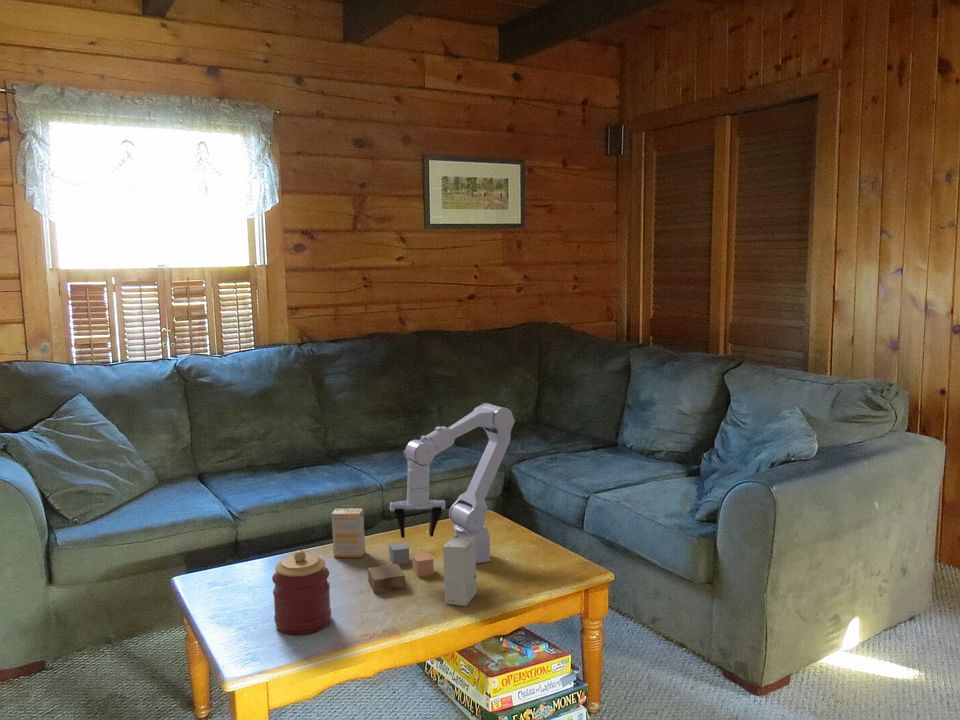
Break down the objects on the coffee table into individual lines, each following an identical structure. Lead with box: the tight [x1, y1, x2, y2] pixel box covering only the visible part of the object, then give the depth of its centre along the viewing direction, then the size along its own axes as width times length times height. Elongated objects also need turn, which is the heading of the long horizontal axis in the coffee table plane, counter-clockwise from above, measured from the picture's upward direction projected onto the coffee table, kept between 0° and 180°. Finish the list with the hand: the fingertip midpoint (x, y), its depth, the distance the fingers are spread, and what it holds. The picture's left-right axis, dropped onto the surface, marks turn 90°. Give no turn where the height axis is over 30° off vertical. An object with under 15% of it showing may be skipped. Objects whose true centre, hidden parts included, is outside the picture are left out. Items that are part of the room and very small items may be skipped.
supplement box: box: [331, 507, 366, 559], centre depth 229 cm, size 8×5×13 cm, turn 84°
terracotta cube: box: [412, 552, 435, 578], centre depth 216 cm, size 4×4×4 cm
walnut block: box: [367, 563, 406, 595], centre depth 209 cm, size 8×8×4 cm
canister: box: [271, 549, 332, 636], centre depth 188 cm, size 13×13×18 cm
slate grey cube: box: [388, 542, 410, 566], centre depth 224 cm, size 4×4×4 cm
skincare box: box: [442, 536, 478, 607], centre depth 200 cm, size 8×6×15 cm
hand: (416, 536), depth 214 cm, fingers open, 7 cm apart
